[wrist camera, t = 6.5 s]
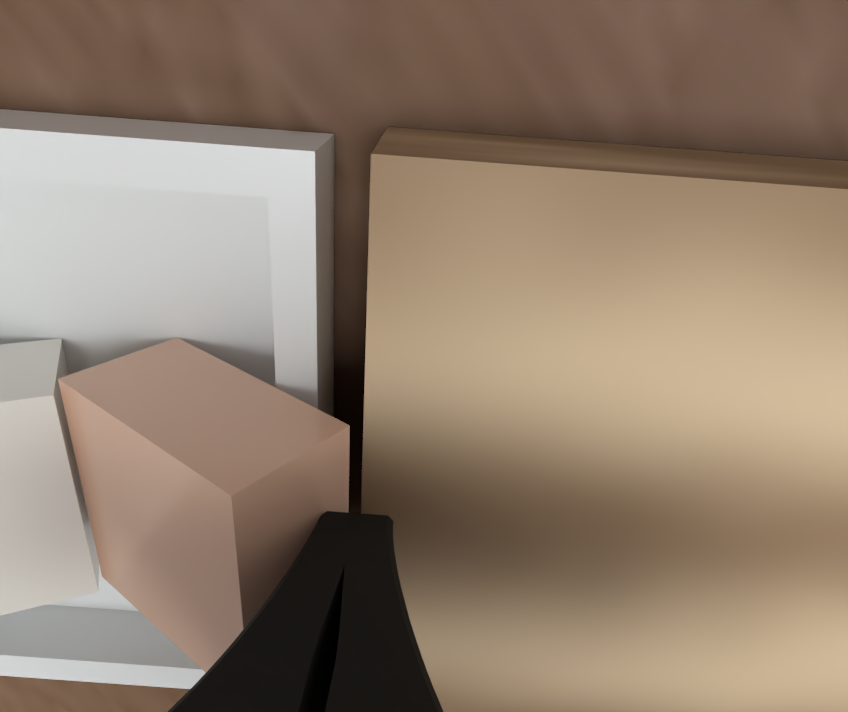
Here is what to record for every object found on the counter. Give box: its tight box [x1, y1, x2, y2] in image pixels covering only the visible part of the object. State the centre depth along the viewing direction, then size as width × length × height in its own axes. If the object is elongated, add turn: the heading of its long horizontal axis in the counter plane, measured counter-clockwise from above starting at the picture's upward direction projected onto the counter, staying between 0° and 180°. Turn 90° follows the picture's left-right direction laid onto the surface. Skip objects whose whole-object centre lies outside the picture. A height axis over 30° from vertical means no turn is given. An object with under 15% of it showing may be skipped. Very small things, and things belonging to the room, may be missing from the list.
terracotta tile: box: [58, 338, 350, 673], centre depth 13 cm, size 5×5×2 cm
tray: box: [0, 109, 334, 689], centre depth 14 cm, size 14×10×2 cm
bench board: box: [361, 127, 848, 712], centre depth 14 cm, size 14×14×3 cm
